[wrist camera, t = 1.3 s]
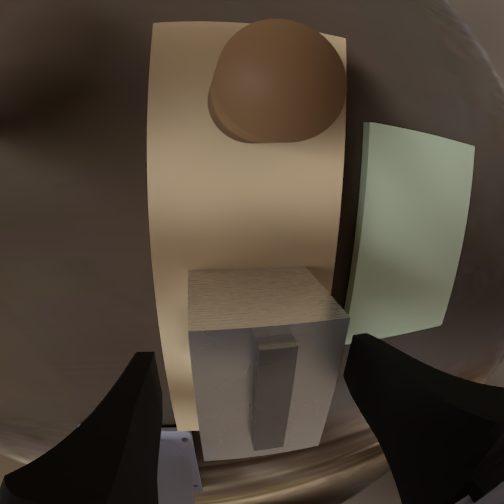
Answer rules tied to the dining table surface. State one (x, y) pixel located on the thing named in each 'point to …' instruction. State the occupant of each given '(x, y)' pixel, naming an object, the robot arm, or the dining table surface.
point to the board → (407, 230)
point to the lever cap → (262, 358)
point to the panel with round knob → (239, 163)
